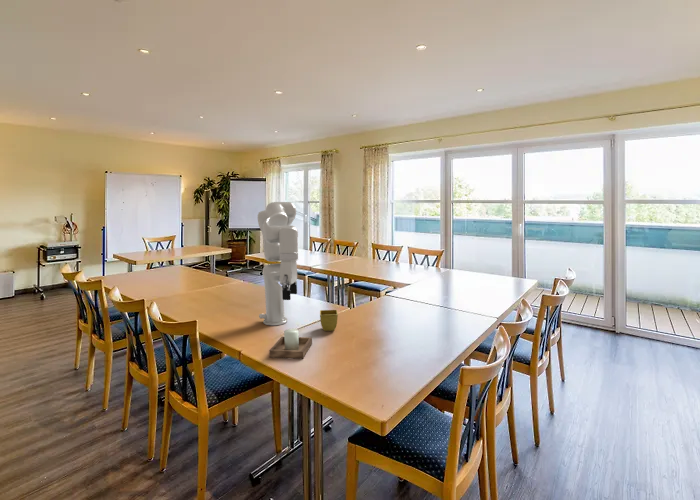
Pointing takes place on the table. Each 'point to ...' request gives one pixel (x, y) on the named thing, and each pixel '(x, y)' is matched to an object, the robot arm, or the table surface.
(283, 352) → the tray
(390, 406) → the table surface
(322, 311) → the flower pot
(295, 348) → the white upright rounded piece
